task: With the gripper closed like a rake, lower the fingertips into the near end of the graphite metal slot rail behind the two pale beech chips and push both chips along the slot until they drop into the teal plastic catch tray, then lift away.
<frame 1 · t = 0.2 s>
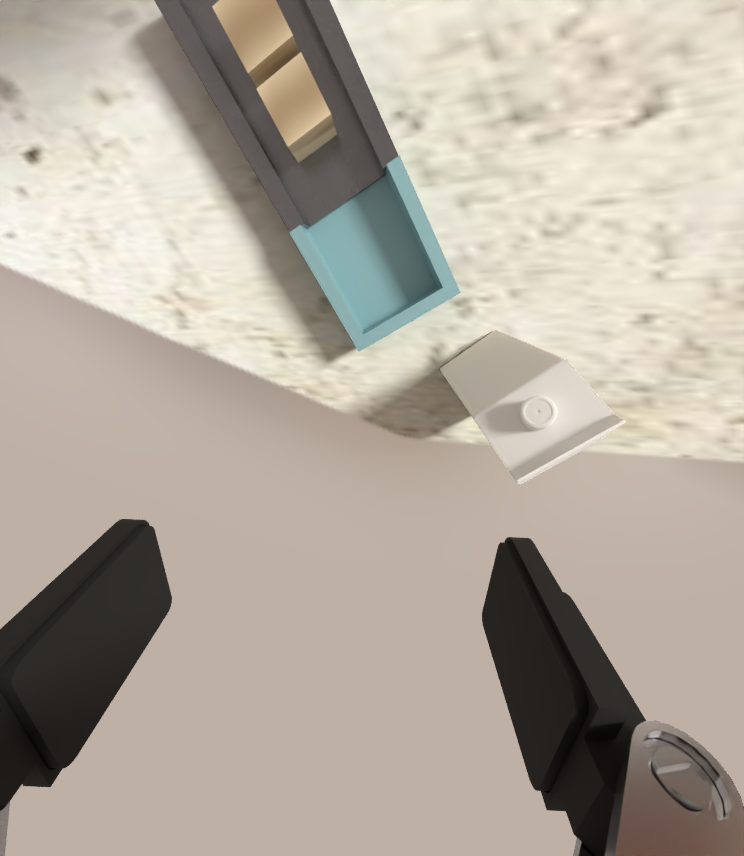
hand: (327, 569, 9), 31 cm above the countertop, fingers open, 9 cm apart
milk carton: (482, 374, 39), on the countertop
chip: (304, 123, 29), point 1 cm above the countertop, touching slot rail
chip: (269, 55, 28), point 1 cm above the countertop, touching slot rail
catch tray: (377, 265, 34), on the countertop
slot rail: (328, 170, 31), on the countertop
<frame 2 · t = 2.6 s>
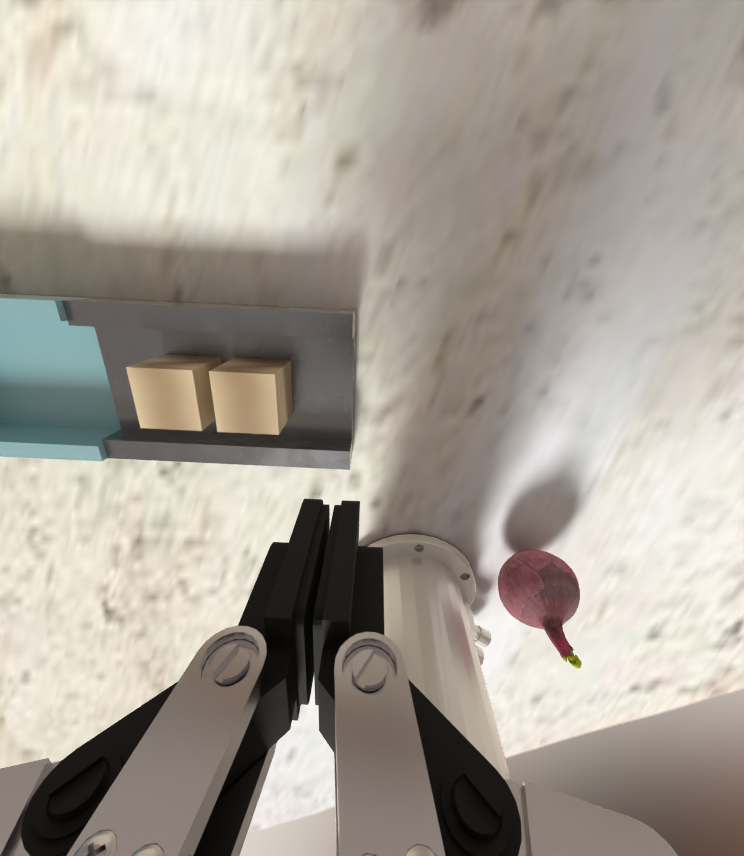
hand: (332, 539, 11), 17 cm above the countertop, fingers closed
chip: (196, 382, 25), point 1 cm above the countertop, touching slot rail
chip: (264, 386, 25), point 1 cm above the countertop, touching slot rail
catch tray: (38, 371, 26), on the countertop
slot rail: (156, 377, 26), on the countertop
vegetable: (518, 553, 32), on the countertop
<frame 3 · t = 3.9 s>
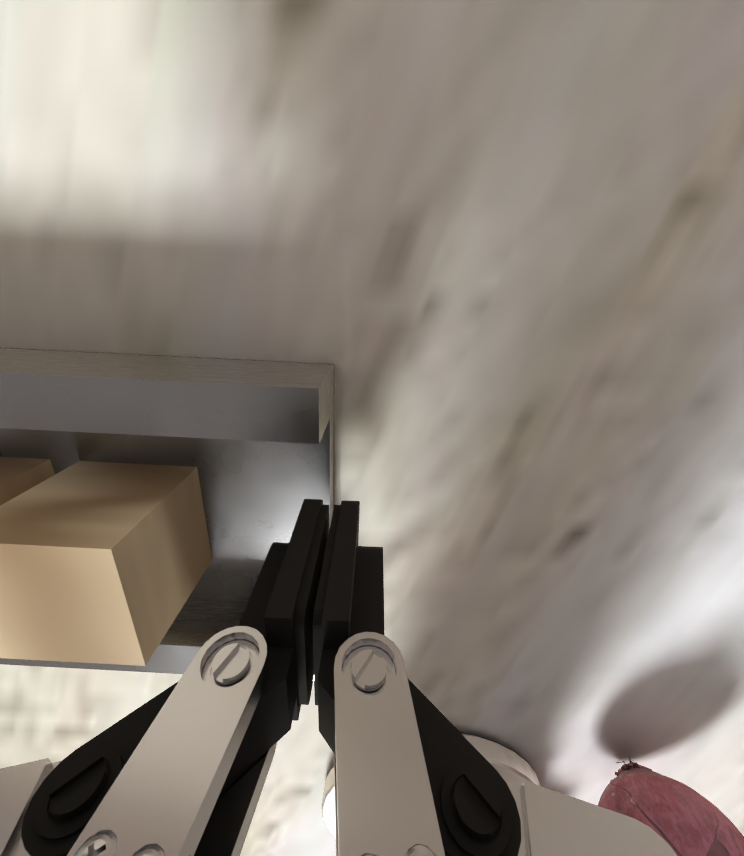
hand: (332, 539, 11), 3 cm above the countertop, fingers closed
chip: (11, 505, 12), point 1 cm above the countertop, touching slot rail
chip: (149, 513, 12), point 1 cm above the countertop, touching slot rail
vegetable: (618, 753, 19), on the countertop
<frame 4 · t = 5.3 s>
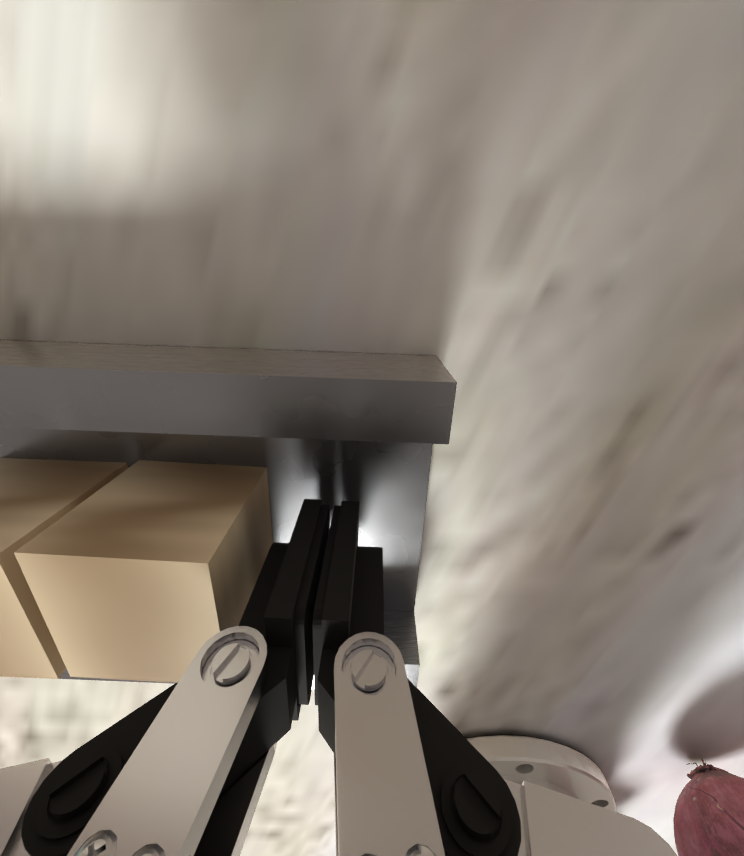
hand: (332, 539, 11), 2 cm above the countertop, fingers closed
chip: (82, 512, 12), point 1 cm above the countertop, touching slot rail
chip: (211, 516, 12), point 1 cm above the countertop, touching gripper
slot rail: (8, 492, 13), on the countertop
vegetable: (688, 755, 19), on the countertop
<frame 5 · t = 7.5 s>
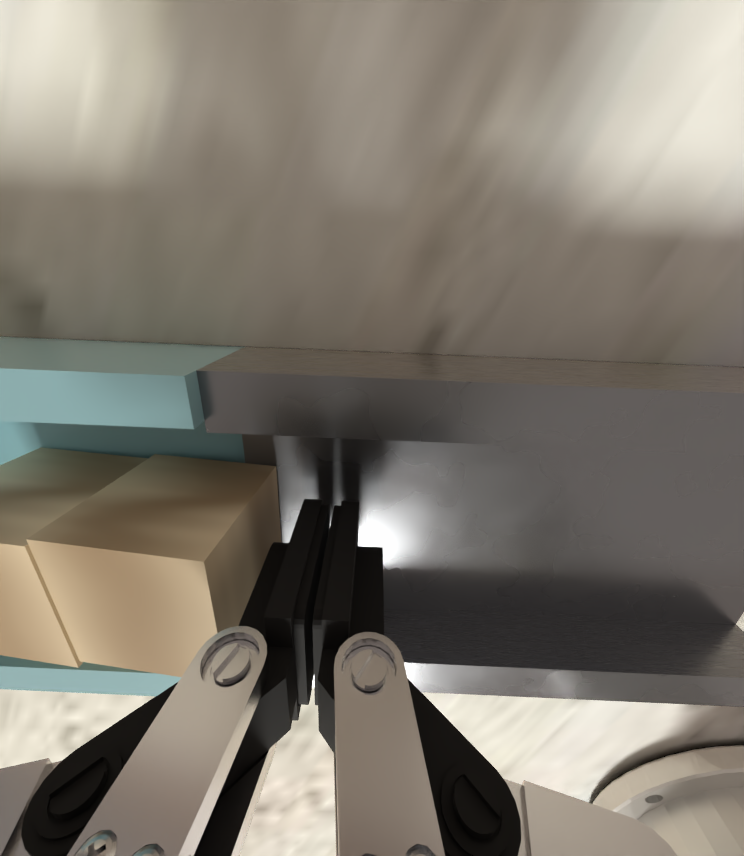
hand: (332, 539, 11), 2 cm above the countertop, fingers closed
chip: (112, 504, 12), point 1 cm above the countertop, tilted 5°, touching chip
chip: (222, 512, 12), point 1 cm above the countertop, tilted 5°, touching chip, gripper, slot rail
catch tray: (96, 492, 13), on the countertop
slot rail: (343, 503, 12), on the countertop
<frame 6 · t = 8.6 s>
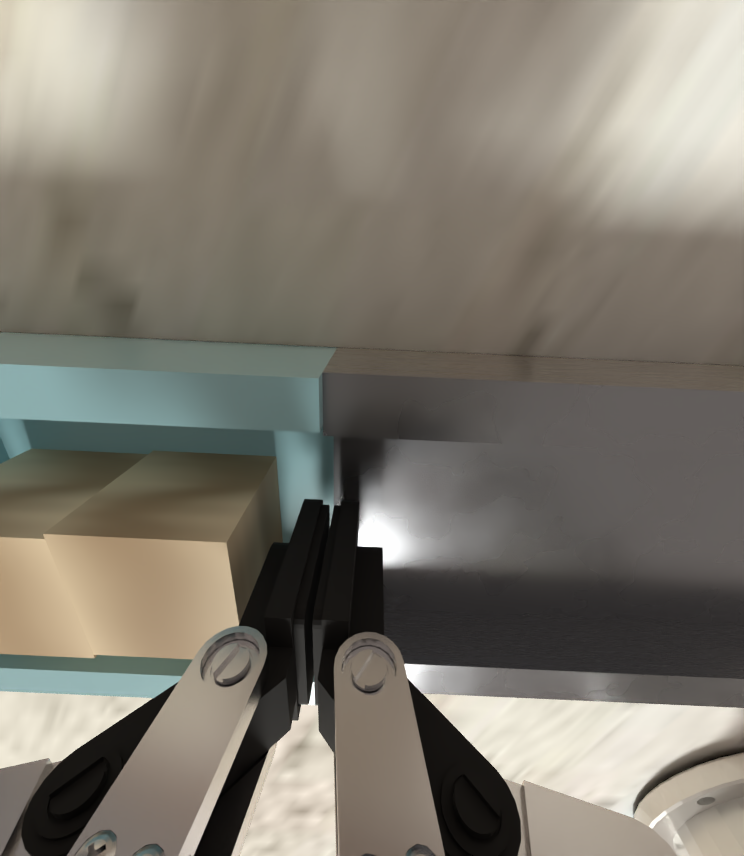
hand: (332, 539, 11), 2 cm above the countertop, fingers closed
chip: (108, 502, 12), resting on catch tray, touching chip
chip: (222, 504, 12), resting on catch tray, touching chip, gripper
catch tray: (169, 494, 12), on the countertop
slot rail: (420, 506, 12), on the countertop
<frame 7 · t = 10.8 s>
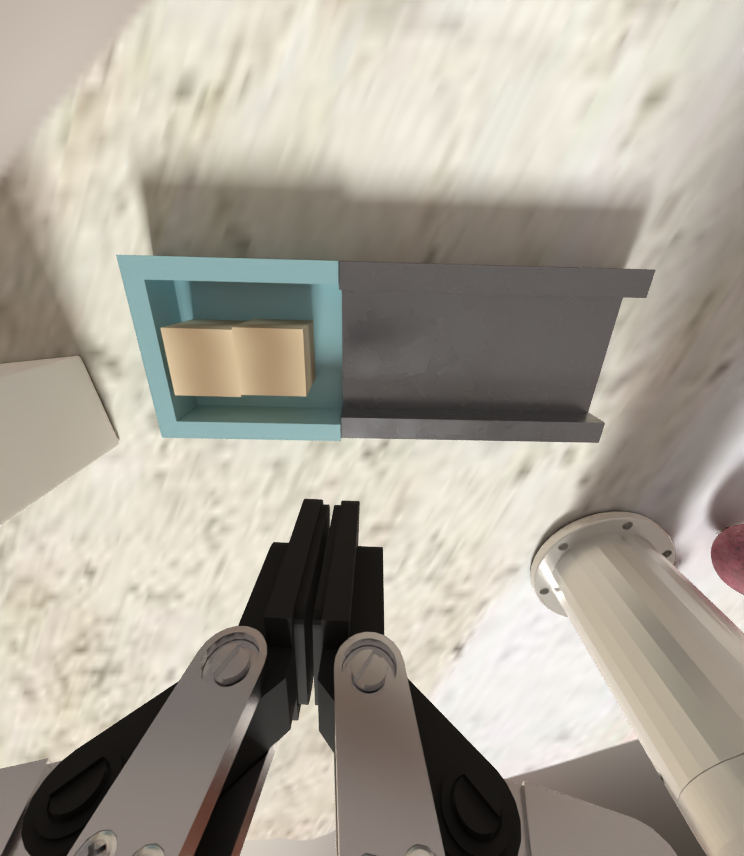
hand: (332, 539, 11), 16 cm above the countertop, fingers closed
milk carton: (59, 405, 26), on the countertop
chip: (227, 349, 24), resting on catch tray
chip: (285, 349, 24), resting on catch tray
catch tray: (257, 347, 24), on the countertop
slot rail: (385, 349, 24), on the countertop
vegetable: (717, 528, 31), on the countertop
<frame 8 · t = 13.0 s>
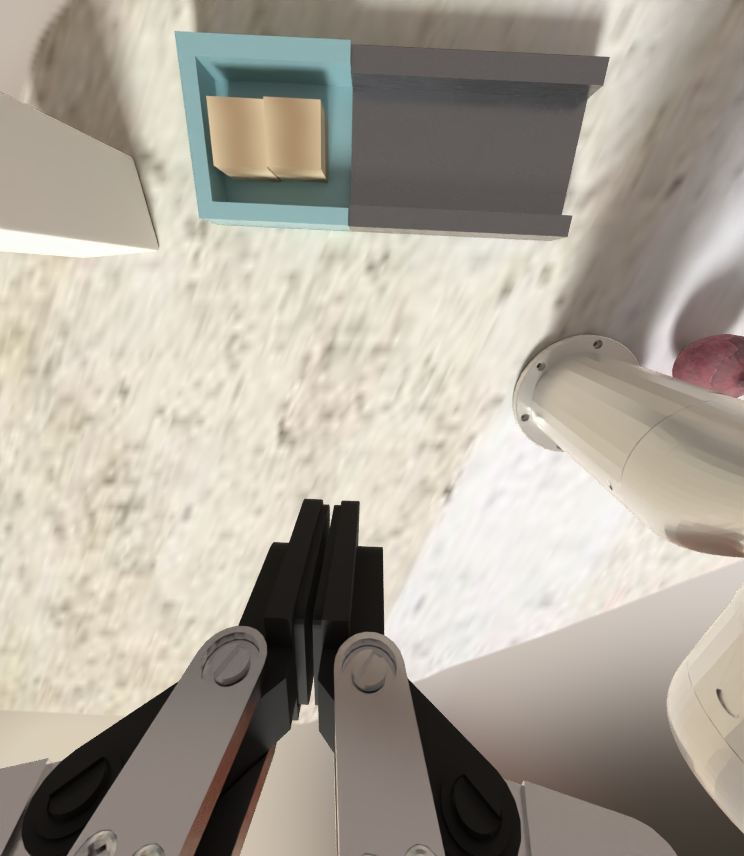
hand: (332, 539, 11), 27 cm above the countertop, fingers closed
milk carton: (111, 210, 31), on the countertop
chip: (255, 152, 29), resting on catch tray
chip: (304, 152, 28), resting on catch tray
catch tray: (280, 152, 29), on the countertop
slot rail: (388, 157, 29), on the countertop
vegetable: (680, 359, 35), on the countertop
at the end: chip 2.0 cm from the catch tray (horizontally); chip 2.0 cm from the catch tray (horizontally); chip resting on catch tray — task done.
